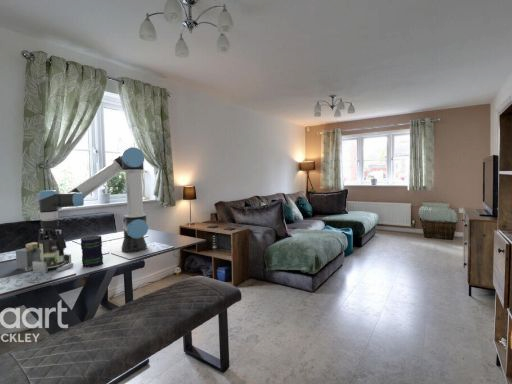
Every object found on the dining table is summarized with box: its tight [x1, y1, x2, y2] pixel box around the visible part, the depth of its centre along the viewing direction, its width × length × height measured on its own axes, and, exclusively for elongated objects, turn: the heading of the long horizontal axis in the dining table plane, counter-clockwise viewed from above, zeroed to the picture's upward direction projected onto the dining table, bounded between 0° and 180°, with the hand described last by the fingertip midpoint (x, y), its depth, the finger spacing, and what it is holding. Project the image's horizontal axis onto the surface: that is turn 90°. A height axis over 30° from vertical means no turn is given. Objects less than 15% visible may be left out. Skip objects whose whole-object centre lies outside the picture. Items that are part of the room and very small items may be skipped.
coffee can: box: [39, 238, 66, 269], centre depth 144 cm, size 10×10×14 cm
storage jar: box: [80, 235, 104, 269], centre depth 148 cm, size 10×10×15 cm
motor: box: [15, 241, 74, 274], centre depth 146 cm, size 14×29×12 cm, turn 74°
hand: (52, 261), depth 144 cm, fingers closed on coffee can, 10 cm apart
